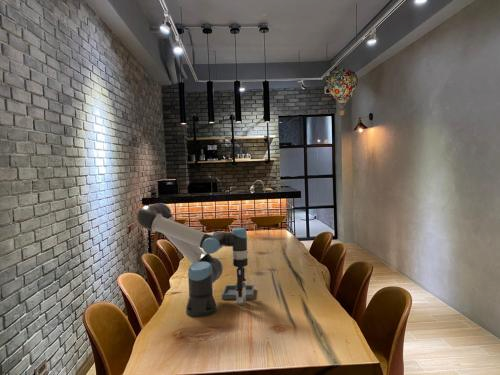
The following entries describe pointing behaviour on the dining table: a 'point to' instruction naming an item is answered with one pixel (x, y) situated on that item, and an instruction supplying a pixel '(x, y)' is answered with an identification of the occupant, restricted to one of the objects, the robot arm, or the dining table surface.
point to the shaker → (243, 295)
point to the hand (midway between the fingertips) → (241, 298)
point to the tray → (231, 292)
